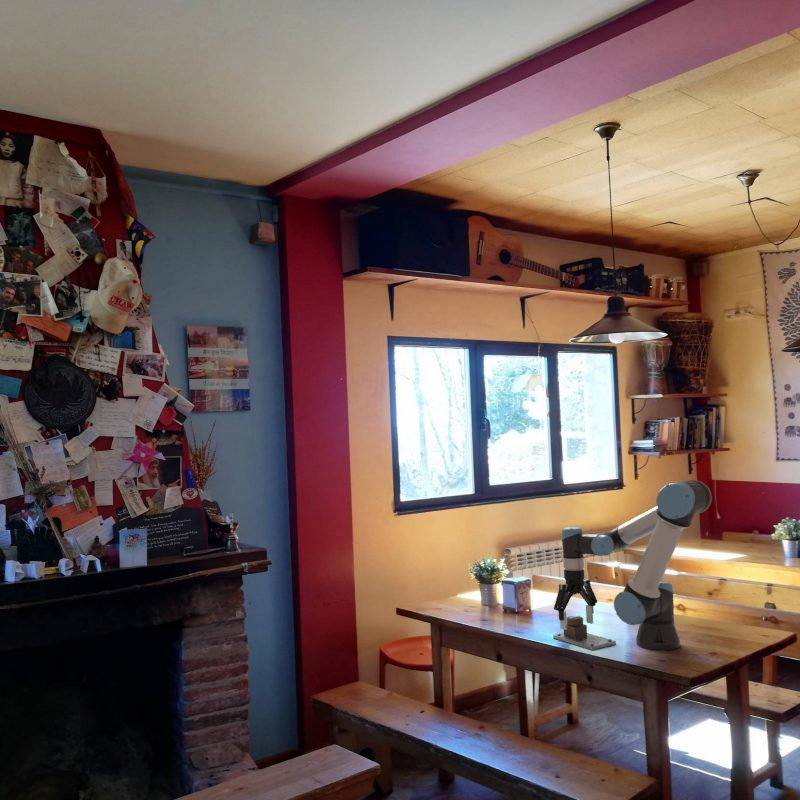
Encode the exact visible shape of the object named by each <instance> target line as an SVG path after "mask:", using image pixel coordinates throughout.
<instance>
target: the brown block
mask: <svg viewBox="0 0 800 800" xmlns="http://www.w3.org/2000/svg"><path fill="white" fill-rule="evenodd" d="M566 618H567V630H564V629H563V633H564V635H565V636H568V637H572V638H575V639H576V638H580V637H584V636H587V633H588V625H587V624H584V617H582V616H580V615H572V616H566Z"/></svg>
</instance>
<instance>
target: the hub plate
mask: <svg viewBox="0 0 800 800" xmlns="http://www.w3.org/2000/svg"><path fill="white" fill-rule="evenodd" d="M552 636H553V637H552V639H555V640H558V641H560V642H564V643H568V644H571V645H574V646H578V647H581V648H584V649H587V650H590V651H594V650H598V649H603V648H607V647H610V646H615V645H617V641H616V640H613V639H609V638H606V637H602V636H599V635H597V634H593V633H590V632H587V636H584V637H580V638H576V639H575V638H572V637H568V636H565V635H564V632H560V633H555V634H553V635H552Z"/></svg>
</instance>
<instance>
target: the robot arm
mask: <svg viewBox="0 0 800 800" xmlns="http://www.w3.org/2000/svg"><path fill="white" fill-rule="evenodd" d="M712 501H713V495H712V492H711V490H710V488H709V486H708V485H707V484H705V483H704V482H703V481H700V480H696V479H688V480H684V481H674V482H670V483H667V484H665V485H664V486H663V487H661V488H660V490H659V491H658V493H657V496H656V502H655V503H656V506H655V507H652V508H651V509H649V510H647V511H645V512H643V513H642V514H640V515H638V516H635V517H634V518H632V519H630V520H628V521H626V522H624V523H622V524H621V525H619V526H617V527H615V528H613V529H612V530H608V531H603V532H598V533H583V529H582V528H581V527H579V526H568V527H567V526H566V527H563V528H562V529H561V530H562V531H561V544H562V553H563V556H562V557H563V559H562V560H563V569H564V570H563V578H564V580H565V583H559V584H558V592H557V596H556V599H555V602H554V606H553V610H555V611H557V612H558V620H559V626H560V629H561V630H563V631H564V630H567V611H566V608H567V606H568V605H569V602H570V600H571V598H572V597H573V596H574V595H577V594H578V595H580V596H581V598H582V599H583V600H584V601H585V603H586V605H585V616H586V617H585V618H586V624H587V623H588V624H591V625H592V624H594V607H595V606H596V605H597V603H598V599H597V597H596V594H595V592H594V590H593V588H592V585H591V580H590V579H586V578H585V569H584V568H585V562H584V561H585V560H584V555H591V556H598V557H605V556H610V555H611V553H612V552H614V551H621V550H624V549H626V548H627V547H628V546H629V545H631V544H632V543H634V542H636V541H638V540H640V539H642V538H645V537H646V536H648V535H650V534H651V536H650V537H649V541H648V543H647V545H646V549H645V551H644V553H643V555H642V558H641V560H640V562H639V565H638V568H637V569H636V572H635V575H634V577H630V578H628V580H627V582H626V584H625V587H624V589H623V591H620V592H619V593H618V594H616V596H615V597H614V599H613V610H614V611H615V612H616V613H615V614H616V616H617V617H618V619H619V620H621V621H622V622H623V623H625V624H627V625H630V626H635V625H639V627H638V630H637V635H636V637H635V638H636V639H635V642H636V643H635V644H636V645H637V646H638V647H641V648H643V649H646V650H647V649H648V650H653V651H654V650H655V651H671V650H676V649H679V648H680V647H681V639H680V637H679V634H678V632H677V628H676V625H675V613H674V612H675V611H674V589H673V584H672V583H671V582H669V581H664V580H663V577H664V576H665V573H666V570H667V568H668V566H669V563H670V561H671V559H672V557H673V555H674V552H675V550H676V547H677V544H678V543H679V540H680V538H681V535H682V533H683V531H684V530H685V529H688V528H690V527H691V524H692V522H693V520H694V518H695V516H696V515H698V514H701V513H704V512H705V511H707V510H708V509H709V507H710V506H711V505H712Z"/></svg>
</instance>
